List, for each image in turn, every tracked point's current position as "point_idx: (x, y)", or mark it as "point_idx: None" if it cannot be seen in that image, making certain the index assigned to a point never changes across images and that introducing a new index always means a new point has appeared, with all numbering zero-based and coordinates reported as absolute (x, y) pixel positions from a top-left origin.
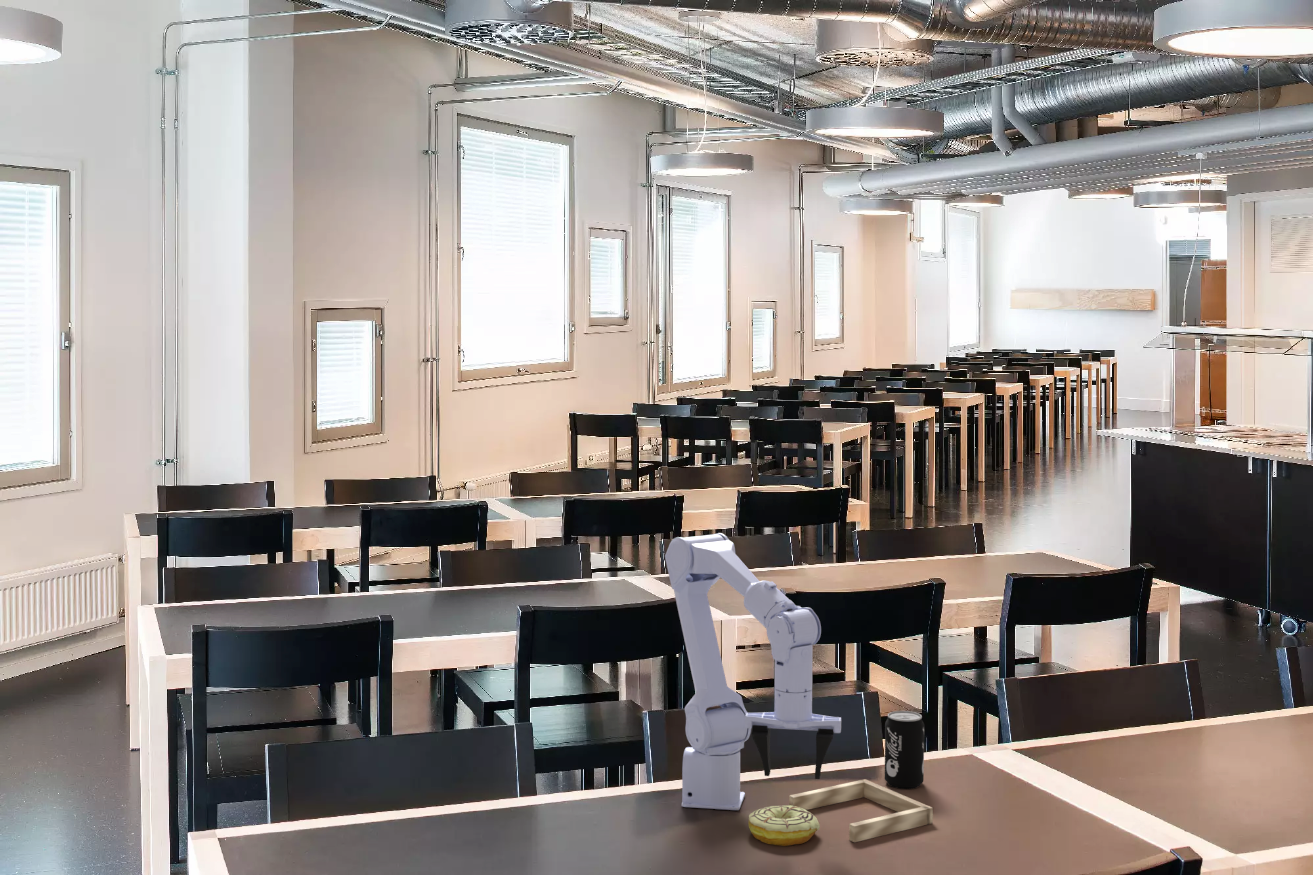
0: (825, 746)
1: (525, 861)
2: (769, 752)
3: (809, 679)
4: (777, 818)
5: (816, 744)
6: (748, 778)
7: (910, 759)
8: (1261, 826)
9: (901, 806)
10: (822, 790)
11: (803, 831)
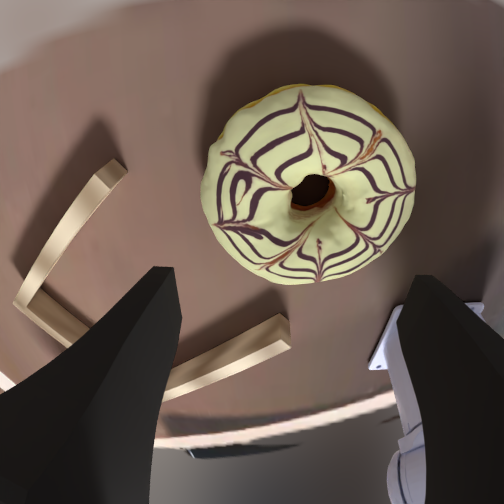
0: (6, 404)
1: None
2: (424, 399)
3: None
4: (338, 151)
5: (60, 440)
6: (346, 409)
7: None
8: None
9: (74, 330)
10: (219, 371)
11: (242, 108)
